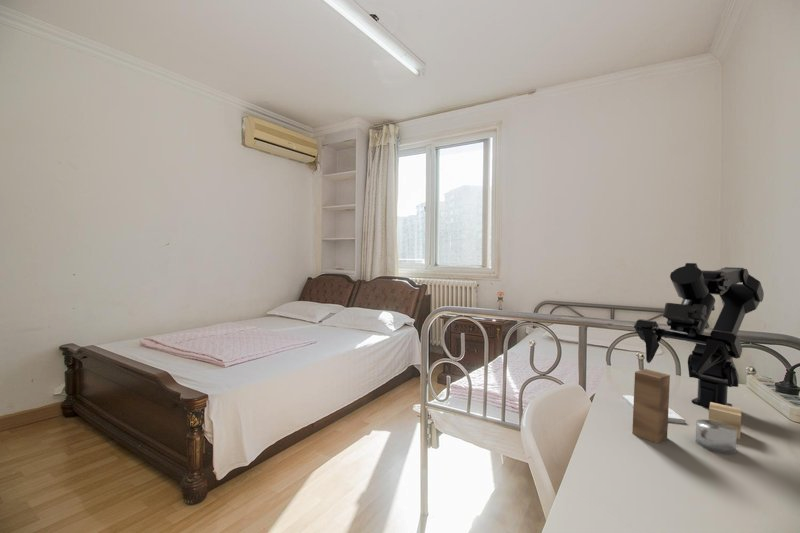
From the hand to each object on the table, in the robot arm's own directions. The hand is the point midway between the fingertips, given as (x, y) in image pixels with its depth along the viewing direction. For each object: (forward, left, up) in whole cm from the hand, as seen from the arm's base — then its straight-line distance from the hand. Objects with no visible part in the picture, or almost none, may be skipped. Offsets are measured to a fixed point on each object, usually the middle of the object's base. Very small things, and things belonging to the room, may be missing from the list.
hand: (671, 367), depth 78 cm
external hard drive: (-6, -6, -14) cm, 16 cm away
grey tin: (+2, +8, -13) cm, 16 cm away
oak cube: (-8, +7, -13) cm, 17 cm away
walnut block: (+9, 0, -13) cm, 16 cm away
